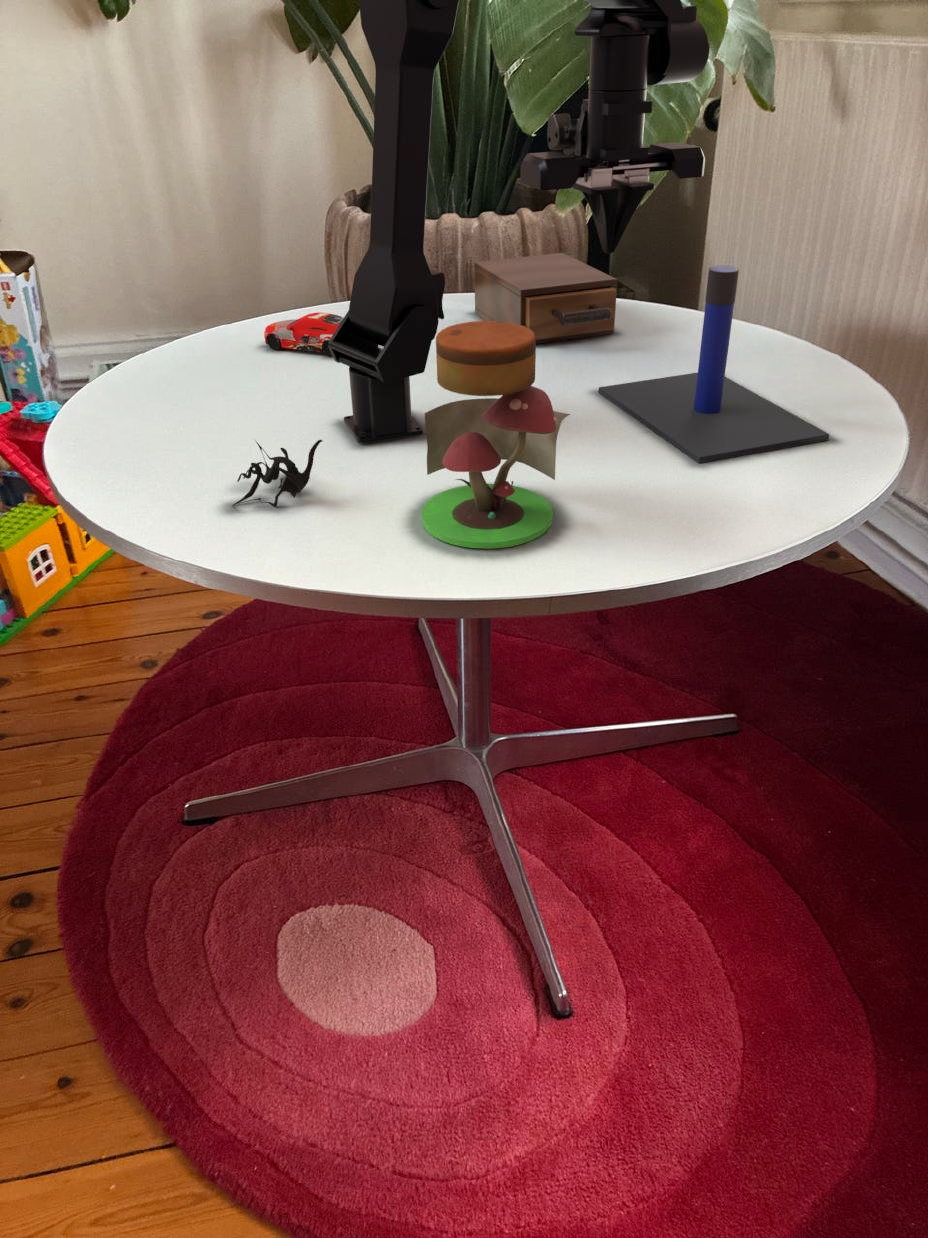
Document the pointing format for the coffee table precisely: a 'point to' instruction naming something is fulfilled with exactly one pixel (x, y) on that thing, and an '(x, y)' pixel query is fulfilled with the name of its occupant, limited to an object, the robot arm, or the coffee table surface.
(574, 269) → the cabinet
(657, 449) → the coffee table surface
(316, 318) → the race car
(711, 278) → the marker
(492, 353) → the mushroom figurine
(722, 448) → the desk mat
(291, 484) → the creature
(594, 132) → the robot arm
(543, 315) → the drawer
